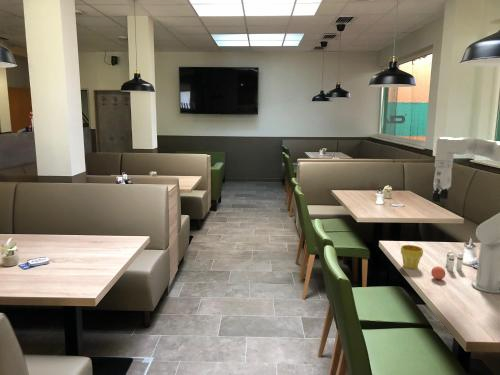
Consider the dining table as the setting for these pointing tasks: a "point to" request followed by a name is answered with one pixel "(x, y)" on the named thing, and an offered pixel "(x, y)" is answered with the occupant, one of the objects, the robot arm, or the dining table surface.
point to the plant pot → (411, 256)
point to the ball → (438, 272)
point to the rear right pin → (459, 262)
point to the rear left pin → (448, 257)
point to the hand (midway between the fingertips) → (440, 200)
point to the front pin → (451, 262)
